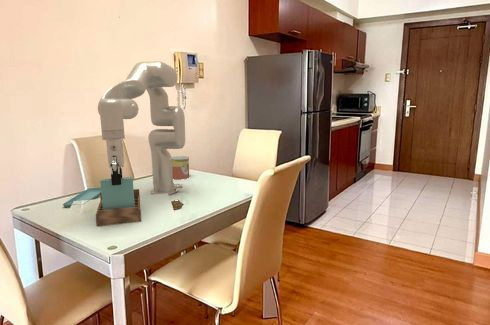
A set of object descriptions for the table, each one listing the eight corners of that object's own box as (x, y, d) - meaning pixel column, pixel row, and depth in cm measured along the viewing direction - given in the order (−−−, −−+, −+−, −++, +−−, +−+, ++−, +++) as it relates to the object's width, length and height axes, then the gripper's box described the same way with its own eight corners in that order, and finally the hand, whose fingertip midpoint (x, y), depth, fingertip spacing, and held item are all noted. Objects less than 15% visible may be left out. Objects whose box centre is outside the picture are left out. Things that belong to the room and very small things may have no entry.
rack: (140, 209, 146) (139, 188, 145) (141, 225, 128) (140, 201, 126) (101, 213, 142) (100, 192, 140) (97, 230, 123) (95, 206, 122)
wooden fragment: (166, 219, 134) (166, 217, 134) (141, 218, 137) (140, 215, 136) (191, 201, 159) (191, 199, 159) (169, 200, 161) (169, 197, 161)
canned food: (180, 180, 197) (179, 160, 195) (166, 178, 203) (165, 158, 201) (193, 177, 206) (192, 157, 204) (179, 174, 212) (178, 155, 210)
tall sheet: (135, 218, 131) (132, 177, 128) (135, 220, 129) (132, 178, 126) (104, 221, 128) (100, 179, 125) (103, 223, 126) (100, 180, 123)
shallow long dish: (83, 208, 149) (83, 203, 149) (62, 209, 149) (61, 203, 149) (107, 192, 175) (106, 187, 174) (89, 192, 175) (88, 188, 174)
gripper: (123, 137, 116) (127, 186, 119) (125, 132, 132) (128, 175, 135) (99, 138, 114) (104, 188, 117) (103, 132, 130) (107, 177, 133)
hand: (117, 181), depth 126 cm, fingers open, 9 cm apart
